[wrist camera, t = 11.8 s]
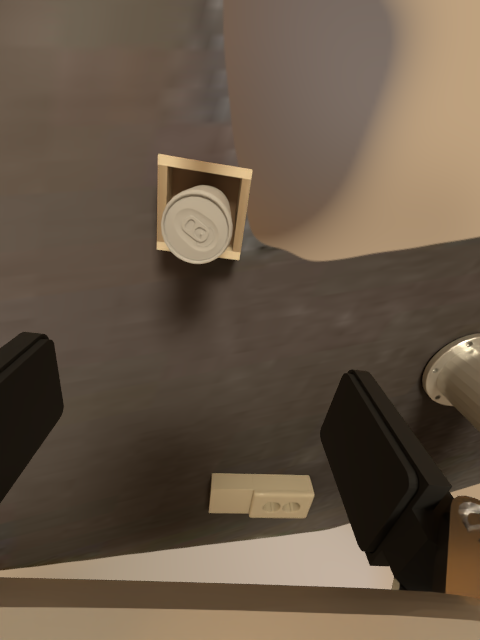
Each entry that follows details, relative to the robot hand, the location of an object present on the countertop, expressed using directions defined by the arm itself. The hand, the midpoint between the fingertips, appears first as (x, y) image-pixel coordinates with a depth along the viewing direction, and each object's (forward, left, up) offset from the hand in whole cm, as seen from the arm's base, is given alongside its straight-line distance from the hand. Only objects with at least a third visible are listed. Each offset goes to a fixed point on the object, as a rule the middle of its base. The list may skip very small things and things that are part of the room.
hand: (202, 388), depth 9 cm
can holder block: (+2, -3, -25) cm, 25 cm away
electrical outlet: (-13, +44, -25) cm, 52 cm away
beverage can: (+1, -3, -24) cm, 24 cm away
